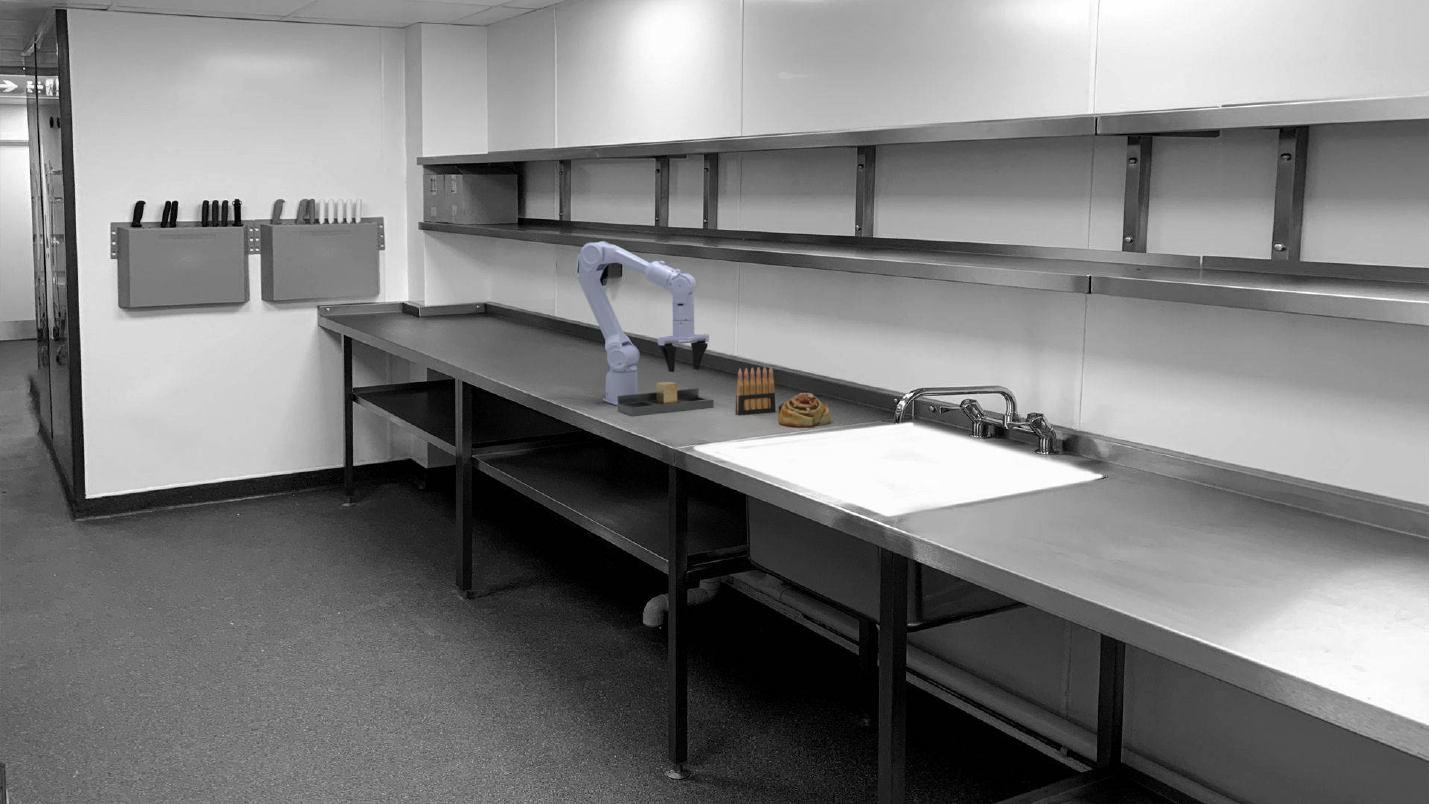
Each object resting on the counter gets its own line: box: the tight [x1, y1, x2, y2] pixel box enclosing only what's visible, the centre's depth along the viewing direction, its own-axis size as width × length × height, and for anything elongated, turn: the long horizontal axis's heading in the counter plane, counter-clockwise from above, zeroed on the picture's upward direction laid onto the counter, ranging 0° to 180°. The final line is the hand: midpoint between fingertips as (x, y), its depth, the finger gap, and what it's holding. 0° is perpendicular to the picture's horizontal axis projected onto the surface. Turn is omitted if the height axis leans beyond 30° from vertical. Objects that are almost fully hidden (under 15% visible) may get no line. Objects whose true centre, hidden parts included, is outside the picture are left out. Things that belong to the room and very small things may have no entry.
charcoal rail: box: [617, 387, 715, 417], centre depth 316 cm, size 9×24×4 cm, turn 120°
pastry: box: [777, 392, 831, 429], centre depth 297 cm, size 13×15×8 cm
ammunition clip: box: [735, 366, 777, 416], centre depth 309 cm, size 11×2×12 cm, turn 113°
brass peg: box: [655, 381, 678, 404], centre depth 316 cm, size 4×4×7 cm
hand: (683, 370), depth 321 cm, fingers open, 7 cm apart
